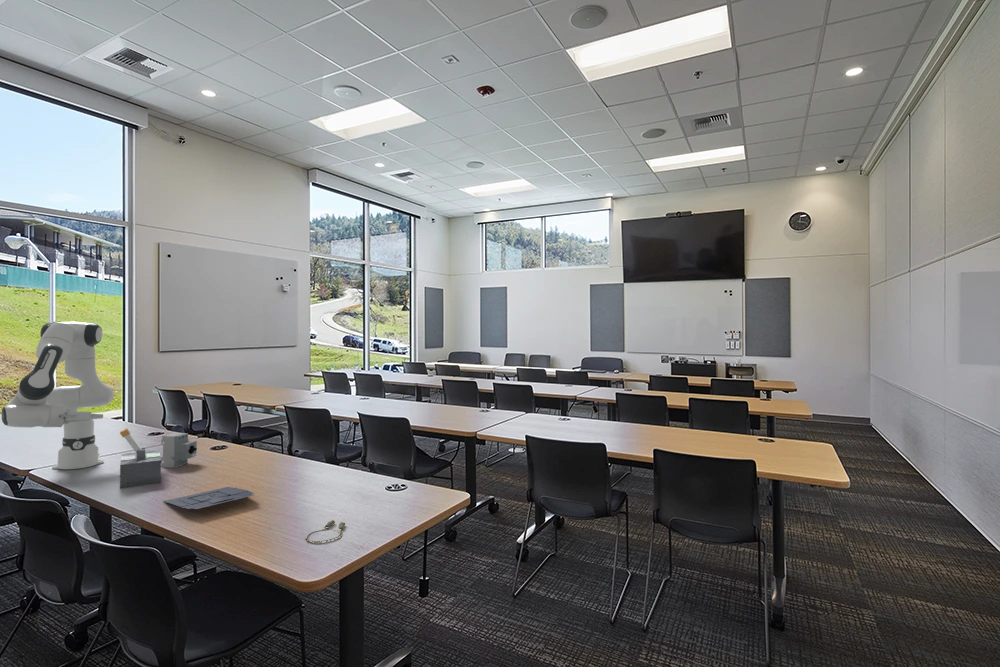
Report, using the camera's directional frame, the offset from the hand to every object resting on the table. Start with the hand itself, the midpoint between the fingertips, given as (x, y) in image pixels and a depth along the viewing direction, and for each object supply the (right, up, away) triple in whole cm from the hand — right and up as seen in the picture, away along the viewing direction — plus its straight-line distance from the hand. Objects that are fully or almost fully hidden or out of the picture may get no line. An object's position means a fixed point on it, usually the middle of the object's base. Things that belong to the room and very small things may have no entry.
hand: (100, 416), depth 210 cm
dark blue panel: (+60, -31, -20) cm, 70 cm away
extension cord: (+115, -32, -47) cm, 128 cm away
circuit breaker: (+14, -29, +31) cm, 45 cm away
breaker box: (+12, -29, +7) cm, 32 cm away
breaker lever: (+13, -19, +7) cm, 24 cm away
